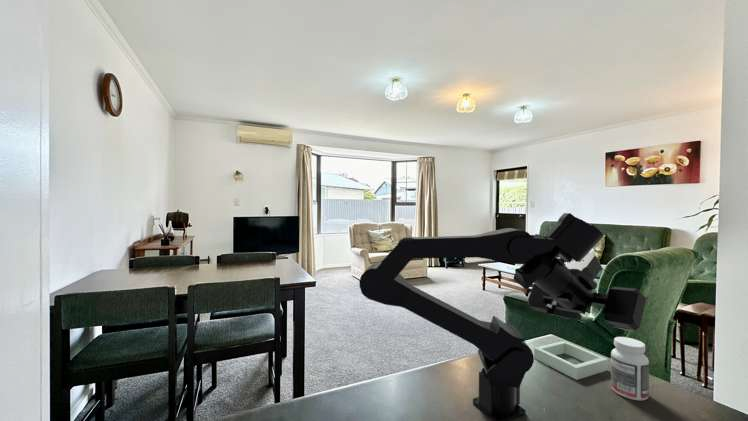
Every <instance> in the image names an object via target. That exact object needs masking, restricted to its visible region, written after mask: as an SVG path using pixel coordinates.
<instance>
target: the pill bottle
mask: <svg viewBox="0 0 748 421" xmlns="http://www.w3.org/2000/svg"><path fill="white" fill-rule="evenodd" d="M613 345H614V347H615V348H613V349H612V350H611V352H610V387H611V389H612V390H613V391H614V392H615V393H616V394H618V395H619V396H622V397H624V398H626V399H630V400H632V401H633V400H634V401H646V400H648V399H649V396H650V360H649V358H648V357H647V355H645V352H646V344H645V343H644V342H643V341H640V340H638V339H636V338H631V337H628V336H616V337H614V338H613Z"/></svg>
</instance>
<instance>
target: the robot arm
mask: <svg viewBox="0 0 748 421" xmlns="http://www.w3.org/2000/svg"><path fill="white" fill-rule="evenodd" d="M603 238H604V233H603V232H602V231H601V230H600V229H599V228H598V227H596V226H595V225H594V224H591V223H590V224H589V223H588V222H587V221H585V220H582V219H580V218H579V217H578V216H577V217H576V216H575V215H573V214H572V213H571V212H569V213H568V212H563V213H562V215H561V216H560V217H559V218H558V220H557V221H556V223H555V224H554V225H553V226H552V227H551V228H550V229H549V231H548V232H547V233H546V234H545V235H542V234H538V233H535V234H530V233H529V232H527V231H525V230H522V229H518V228H512V227H507V228H500V229H496V230H495V229H494V230H491V231H486V232H484V233H479V234H475V235H448V236H445V235H444V236H441V235H440V236H411V235H407V236H403V237H402V238H401V239H400V240H399V241H398V243H397V245H395V246H394V248H393V249H392V250H391V251H390V252H389V253H388V254H387V255H386V256H385V257H384V258H383V259H382V260H381V261H378V262H375V263H371V265H369V267H367V269H366V270H365V271H364V272H363V273H362V274H361V276H360V278H359V289H360V291H361V295H363V297H365V298H366V299H368V300H370V301H373V302H376V303H379V304H382V305H386V306H392V307H399V308H403V309H405V310H407V311H409V312H411V313H413V314H414V315H416V316H419V317H420V318H422V319H423V320H426V321H428V322H430V323H432V324H434V325H436V326H438V327H439V328H441V329H443V330H444V331H447V332H449V333H450V334H452V335H454V336H456V337H458V338H460V339H462V340H464V341H466V342H468V343H469V344H471V345H474V346H475V347H476V348H477V349H478V351H477V353H478V356H479V358H480V362H481V364H482V366H483V367H482V369H481V371H479V372H478V396H477V397H473V398H472V403H473V404H474V405H475V406H476V407H478V408H479V409H480V410H482V411H483V412H484V414H486V415H487V416H489V418H491V419H492V420H493V421H509V420H513V419H515V418H519V417H522V416H524V415H526V414H527V411H526V409H524V408H523V407H522V406H520V403H521V401H520V400H521V398H520V397H521V396H520V394H521V392H520V391H521V390H520V389H521V385H522V382H523V380H524V378H525V375H526V373H527V372H529V371H530V370H531V368H532V367H533V365H534V362H535V358H534V353H533V350H532V349H531V348H530V346H529V345H528V344H527V342H526V341H525V338H524V337H523V336H522V335H521V333H520V332H519V331H518V329H517V328H516V327H515V325H514V324H510V323H506V322H504V321H503V320H501V319H500V318H498V317H497V316H495V315H493V316H492V318H491V321H486V320H485V321H483V320H479V319H478V318H476V317H474V316H472V315H470V314H468V313H466V312H465V311H462V310H460V309H459V308H456V307H455V306H453V305H451V304H449V303H447V302H445V301H443V300H441V299H439V298H437V297H435V296H434V295H431V294H429V293H427V292H425V291H424V290H421V289H420V288H418V287H416V286H414V285H412V284H411V283H410V282H409V281H408V280H407V279H406V278H404V276H402V275H401V274H400V273H401V272H402V271H403V270H404V269H405V268H406V267H407V266H408V264H409V263H410V262H411V261H412V260H414V259H415V260H416V259H455V258H456V259H457V258H458V259H461V258H463V259H464V258H465V259H467V258H472V259H473V258H479V259H485V260H490V261H495V262H498V263H499V262H501V263H505V264H506V263H507V264H514V265H521V267H517V268H515V269H514V271H515V273H514V275H513V281H514V282H515V283H517V284H518V285H519V286H521V287H522V288H523V289H524V290H529V288H530V287H531V286H532V285H533V286H532V288H531V290H530V292H529V296H528V298H527V302H528V306H529V307H530V308H531V309H533V310H534V311H536V312H541V313H543V314H548V315H552V316H556V317H560V318H566V319H571V320H575V321H579V322H580V321H581V320H582V318H583V317H582V315H585V314H586V312H587V309H589V308H590V307H595V308H600V309H601V308H602V309H603V312H602V314H603V317H604V321H606V323H608V324H609V325H610V327H612V328H616V329H621V330H624V331H629V332H634V331H635V330H638V329H640V328H641V323H642V319H643V315H644V310H645V307H646V304H647V303H646V302H647V297H646V296H645V295H644V294H643V293H642V292H641V290H639V289H638V288H632V287H623V286H621V287H620V286H612V287H610V288H609V291H608V293H601V292H593V290H594V291H596V289H597V287H598V286H597V285H598V283H597V282H596V281H595V279H596V277H597V276H598V274H599V273H600V272H601V271H602V270H603V266H602V264H601V263H600V261H599V259H598V257H597V255H596V253H594V252H591V251H592V249H593V248H594V247H596V245H597V244H598V243H599V242H600V241H601V240H602V239H603Z"/></svg>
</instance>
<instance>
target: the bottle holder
mask: <svg viewBox="0 0 748 421" xmlns="http://www.w3.org/2000/svg"><path fill="white" fill-rule="evenodd" d="M533 351H534V353H533V356H534V360H537V361H539V362H541V363H542V364H545V365H547V366H548V367H550V368H552V369H554V370H557V371H558V372H560V373H562V374H564V375H565V376H568V377H569V378H572V379H574V380H576V381H577V380H580V379H585V378H587V377H588V378H589V377H591V376H594V375H597V374H601V373H603V372H607V371H608V370H609V367H608V366H609V360H608V358H607V357H604V356H602V355H599V354H596V353H595V352H592V351H589V350H587V349H585V348H582V347H580V346H577V345H575V344H572V343H570V342H568V341H565V340H561V341H557V342H553V343H548V344H544V345H541V346H536V347H534V350H533ZM563 354H565V355H567V356H570V357H571V358H575V359H577V360H579V361H581V362H579V363H577V364H574V363H572V362H570V361H568V360H566V359H563V358H561V357H559V355H563Z"/></svg>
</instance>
